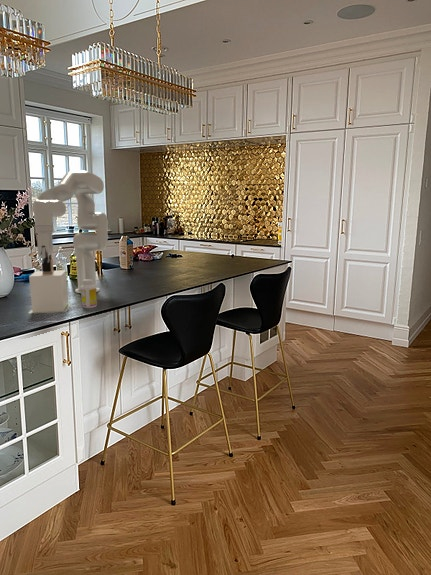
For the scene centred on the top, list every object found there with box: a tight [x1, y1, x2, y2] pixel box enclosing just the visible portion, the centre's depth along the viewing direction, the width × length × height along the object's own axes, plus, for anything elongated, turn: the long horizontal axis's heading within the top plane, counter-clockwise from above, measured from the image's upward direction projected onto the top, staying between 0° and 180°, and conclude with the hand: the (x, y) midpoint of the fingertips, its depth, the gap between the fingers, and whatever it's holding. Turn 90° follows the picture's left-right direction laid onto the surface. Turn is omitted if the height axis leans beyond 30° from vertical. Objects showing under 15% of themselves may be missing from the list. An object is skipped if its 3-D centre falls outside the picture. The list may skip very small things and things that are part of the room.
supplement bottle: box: [80, 279, 98, 309], centre depth 202 cm, size 7×7×13 cm
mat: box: [28, 302, 72, 315], centre depth 200 cm, size 16×16×1 cm
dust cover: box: [28, 258, 69, 312], centre depth 198 cm, size 13×13×22 cm
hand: (48, 270), depth 197 cm, fingers closed on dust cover, 4 cm apart
